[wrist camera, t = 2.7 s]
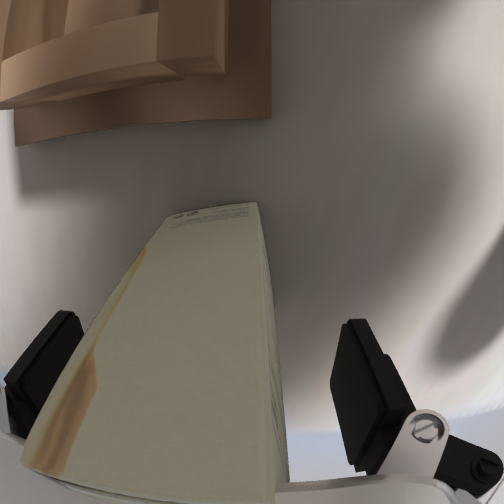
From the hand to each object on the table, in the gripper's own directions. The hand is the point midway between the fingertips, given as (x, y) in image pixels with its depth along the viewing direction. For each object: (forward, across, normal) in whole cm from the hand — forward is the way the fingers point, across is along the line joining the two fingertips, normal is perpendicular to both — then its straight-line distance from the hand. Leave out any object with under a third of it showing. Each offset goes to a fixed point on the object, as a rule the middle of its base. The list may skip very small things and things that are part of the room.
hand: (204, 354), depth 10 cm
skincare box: (+6, 0, 0) cm, 6 cm away
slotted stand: (+5, +4, -14) cm, 16 cm away
